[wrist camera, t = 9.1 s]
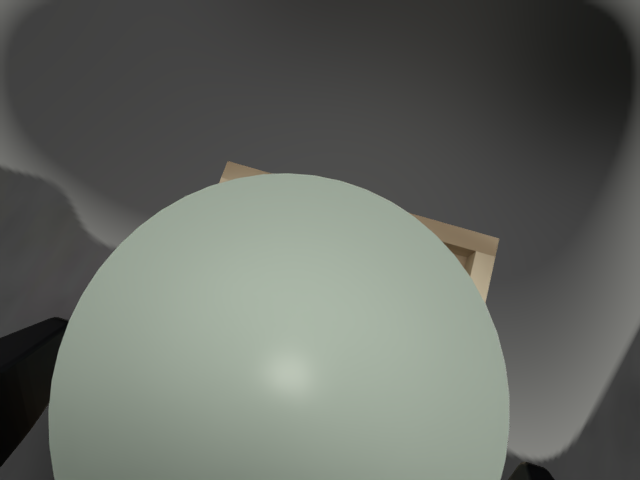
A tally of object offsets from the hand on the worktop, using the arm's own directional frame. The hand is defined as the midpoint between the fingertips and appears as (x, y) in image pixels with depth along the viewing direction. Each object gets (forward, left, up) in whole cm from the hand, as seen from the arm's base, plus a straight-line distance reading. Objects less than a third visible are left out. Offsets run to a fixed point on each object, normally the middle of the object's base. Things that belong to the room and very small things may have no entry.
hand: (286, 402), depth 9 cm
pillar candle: (+1, 0, -10) cm, 10 cm away
